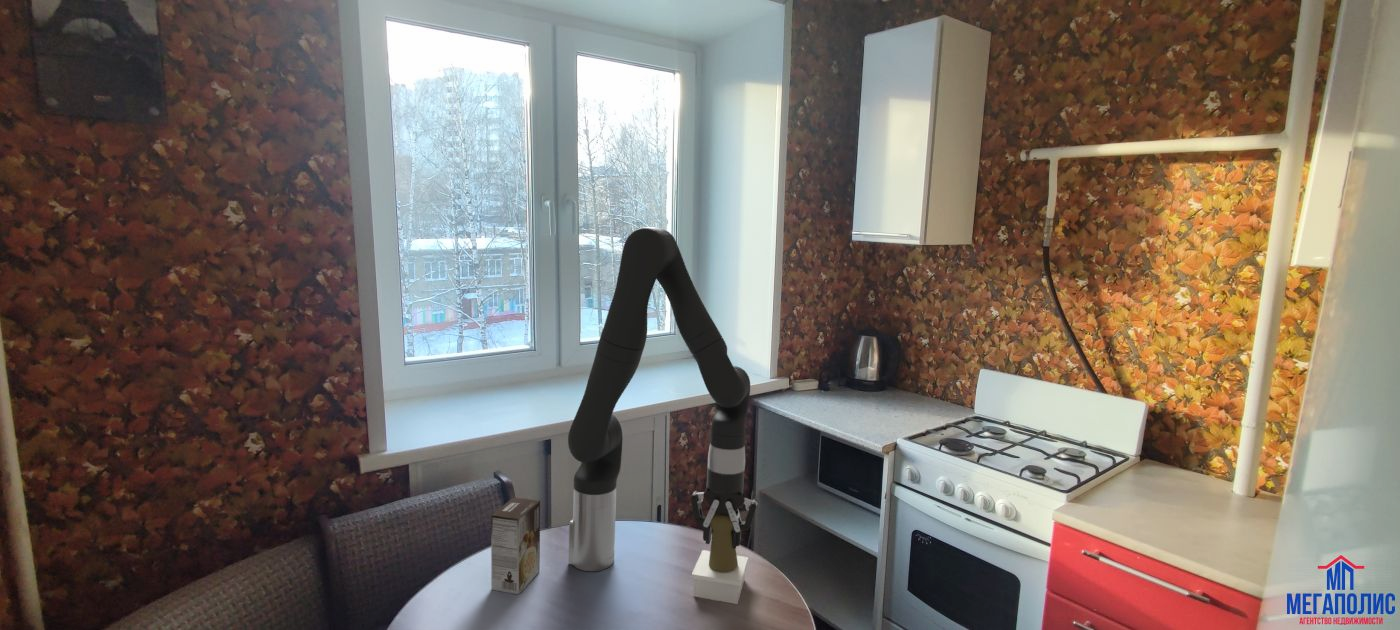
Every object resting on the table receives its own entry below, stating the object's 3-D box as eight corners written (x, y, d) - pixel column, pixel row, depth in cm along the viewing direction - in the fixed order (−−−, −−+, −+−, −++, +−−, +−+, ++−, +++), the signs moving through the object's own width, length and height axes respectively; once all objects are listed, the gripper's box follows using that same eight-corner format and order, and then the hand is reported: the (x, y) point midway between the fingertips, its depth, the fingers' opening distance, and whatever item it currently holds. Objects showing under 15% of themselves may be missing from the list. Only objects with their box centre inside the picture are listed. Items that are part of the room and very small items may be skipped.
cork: (716, 554, 130) (715, 505, 129) (742, 560, 128) (741, 509, 127) (704, 568, 125) (702, 516, 124) (731, 574, 122) (730, 522, 121)
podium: (690, 597, 123) (691, 574, 123) (701, 571, 133) (702, 550, 132) (739, 606, 121) (740, 582, 121) (746, 579, 131) (748, 557, 130)
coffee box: (512, 567, 131) (513, 495, 129) (540, 571, 130) (541, 499, 128) (490, 590, 122) (490, 514, 120) (519, 595, 121) (520, 518, 119)
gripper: (687, 467, 122) (683, 547, 124) (758, 477, 119) (753, 559, 121) (695, 454, 129) (692, 531, 131) (763, 463, 126) (758, 541, 128)
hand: (721, 544), depth 126 cm, fingers open, 5 cm apart
